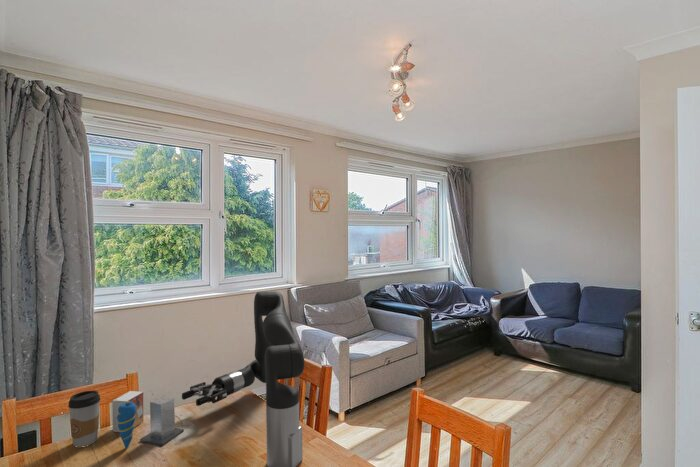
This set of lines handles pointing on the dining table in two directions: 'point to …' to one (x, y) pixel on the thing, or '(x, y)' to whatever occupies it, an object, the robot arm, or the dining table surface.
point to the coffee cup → (84, 417)
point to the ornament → (126, 421)
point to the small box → (131, 395)
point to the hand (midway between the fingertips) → (189, 399)
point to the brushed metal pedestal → (162, 417)
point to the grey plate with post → (161, 442)
